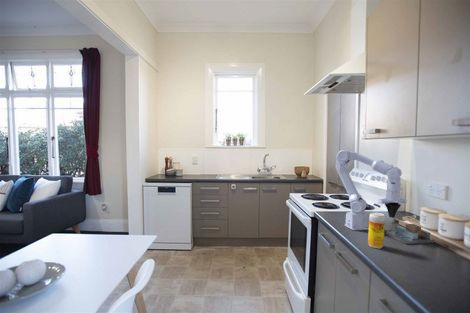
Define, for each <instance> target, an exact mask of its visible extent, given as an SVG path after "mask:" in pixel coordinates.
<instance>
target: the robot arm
mask: <svg viewBox="0 0 470 313" xmlns="http://www.w3.org/2000/svg"><path fill="white" fill-rule="evenodd" d="M350 161H358V162H360V163H363V164H365V165H368V166H370V167H371V168H372V170H373V171H375V172H377V173H380V174H382V175H383V176H387V182H386V194H385V197H386V198H380V199H378V203H379V204H380V205H383V204H384V206H385V207H386V210H387V213H388V217H389V218H391V219H392V218H393V219H394V218H396V215H397V214H396V213H397V212H398V211H399V209H400V208H401V205H402V204H407V199H406V198H400V197H401V196H400V195H401V183H402V182H401V181H402V179H401V176H402V174H403V172H402V170H401V169H400V168H399V167H397V166H394V165H393V164H389V163H386V162H384V160H383V159H382V160H381V159H380V160H379V159H377V160H373V159H371V158H369V157H367V156H365V155H363V154H361V153H358V152H356V151H352V150H350V149H342V150H339V151H338V152H337V154H336V155H335V166H334V167H335V170H336V172H337V174H338V176H339V178H340V180H341V182H342V184H343V186H344V188H345V191H346V193H347V195H348V200H349V204H350V209H351V210H350V211H348V212H346V214H345V224H344V226H345V227H346V228H348V229H350V230H353V231H363V230H364V231H365V230H366V231H369V227H367V226H366V215H367V212H366V210H365V209H366V208H367V205H368V203H367V201H366V200H365V199H364V198H363V197H362V195H361V194H360V193H359V192H358V190H357V187H356V186H355V184H354V181H353V179H352V176H351V175H350V173H349V171H348V169H347V166H348V164H349V163H350Z"/></svg>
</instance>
